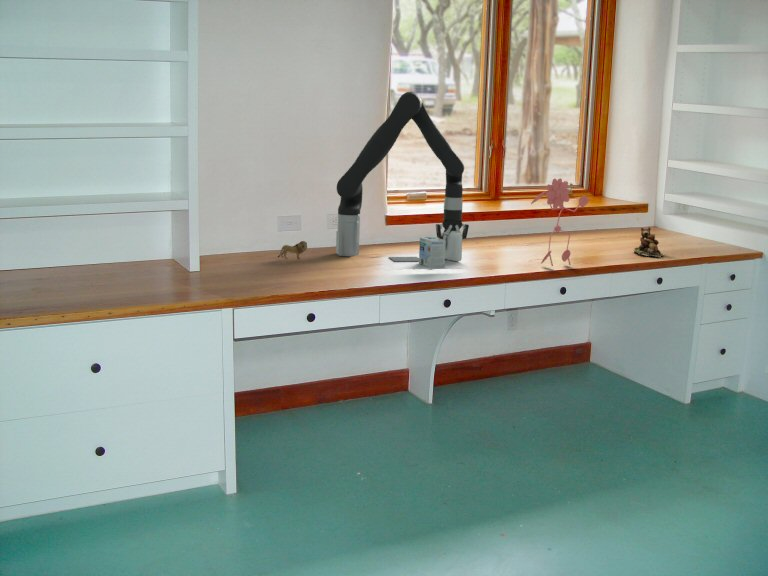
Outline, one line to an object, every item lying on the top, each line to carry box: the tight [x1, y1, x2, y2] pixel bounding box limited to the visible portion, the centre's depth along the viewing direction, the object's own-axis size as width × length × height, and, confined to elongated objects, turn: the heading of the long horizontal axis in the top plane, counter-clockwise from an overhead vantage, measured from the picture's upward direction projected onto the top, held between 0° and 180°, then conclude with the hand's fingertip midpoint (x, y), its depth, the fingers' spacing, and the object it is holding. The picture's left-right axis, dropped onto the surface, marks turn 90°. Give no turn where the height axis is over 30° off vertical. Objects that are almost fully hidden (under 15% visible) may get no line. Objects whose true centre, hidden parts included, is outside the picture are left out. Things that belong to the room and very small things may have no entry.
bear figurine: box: [632, 227, 664, 258], centre depth 404 cm, size 14×15×12 cm
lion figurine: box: [277, 240, 308, 261], centre depth 361 cm, size 12×4×7 cm, turn 93°
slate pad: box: [388, 256, 419, 263], centre depth 368 cm, size 12×10×1 cm
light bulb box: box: [418, 236, 446, 269], centre depth 357 cm, size 11×7×11 cm, turn 23°
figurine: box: [528, 177, 589, 267], centre depth 369 cm, size 15×26×35 cm, turn 118°
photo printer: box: [441, 230, 463, 262], centre depth 371 cm, size 10×4×12 cm, turn 39°
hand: (451, 248), depth 371 cm, fingers closed on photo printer, 5 cm apart
